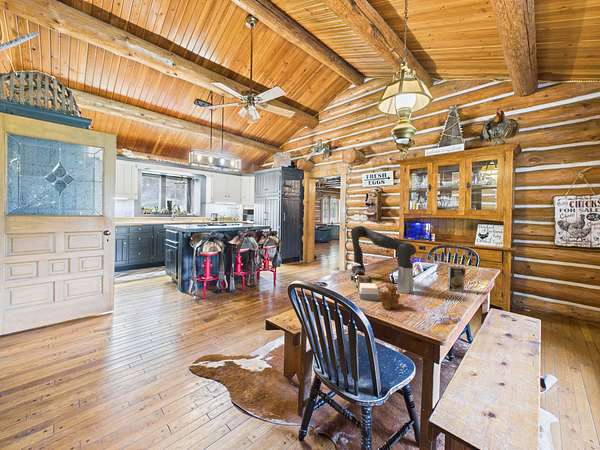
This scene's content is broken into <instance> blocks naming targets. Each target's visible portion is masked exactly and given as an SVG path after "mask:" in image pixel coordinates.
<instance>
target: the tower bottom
mask: <svg viewBox="0 0 600 450" xmlns="http://www.w3.org/2000/svg"><path fill="white" fill-rule="evenodd" d="M378 296H379V295H374V294H361V292H360V289H359V292H358V298H359V297H360V298H359V300H360V299H363V300H362V301H373V300H378V301H379V297H378Z"/></svg>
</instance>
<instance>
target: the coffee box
mask: <svg viewBox="0 0 600 450" xmlns="http://www.w3.org/2000/svg"><path fill="white" fill-rule="evenodd" d="M465 280H466V268H464V267H462V266H461V267H459V266H448V269H447V281H446V283H447V284H446V286H447V287H446V289H447V290H448V291H449V292H455V293H457V292H458V293H464V292H465Z"/></svg>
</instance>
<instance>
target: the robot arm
mask: <svg viewBox="0 0 600 450" xmlns="http://www.w3.org/2000/svg"><path fill="white" fill-rule="evenodd" d="M350 236H351V242H352V246H353V262H354V263H355V264H356V265H353V266H352V268H351V272H352V275H350V281H353V282H354V283H357V282H358V275H363V276H366V268H365V265H364V257H363V256H364V255H363V250H362V248H361V246H360V239H361V238H365V239H368V240H370V241H371V243H373V244H374V245H375V246H377V247H381V248H384V249H388V250H395V251H396V258H397V259H396V261H397V262H396V263H397V264H398V266H397V268H398V269H397V286H396V287H397V289H399V290H397V291H396V292H398V293H399V294H413V292H414V279H413V270H414V264H413V262H412V261H411V257H412V256H414V255H415V254H416V253H417V248H416V246H415V245H414V244H412V243H409V242H407V241H402V240H399V239H395V238H394V237H390V236H388V235H386V234H384V233H381V232H376V231H374V230H371V229H369V228H367V227H366V226H362V225H358V226H354V227H352V228H351V230H350ZM357 264H359V265H357ZM366 283H372V277H371V276H370V275H368V276H366Z"/></svg>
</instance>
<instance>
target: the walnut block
mask: <svg viewBox="0 0 600 450" xmlns="http://www.w3.org/2000/svg"><path fill="white" fill-rule="evenodd" d="M366 277H367V276H366V275H365V276H363V275H358V281H357V291H359V287H360V283H367V281H366Z"/></svg>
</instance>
